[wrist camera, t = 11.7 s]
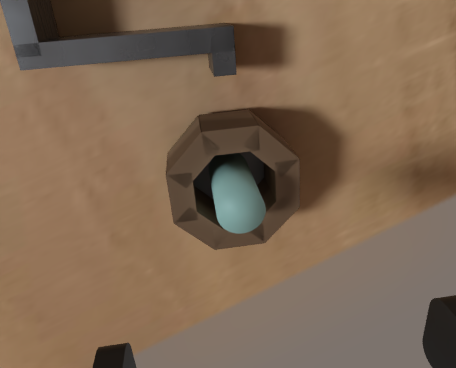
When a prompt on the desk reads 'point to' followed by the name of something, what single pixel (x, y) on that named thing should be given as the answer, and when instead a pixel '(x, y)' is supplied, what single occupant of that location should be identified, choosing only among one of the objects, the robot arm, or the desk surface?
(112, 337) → the desk surface
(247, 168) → the teal flanged peg
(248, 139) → the walnut ring
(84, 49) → the bent rail
